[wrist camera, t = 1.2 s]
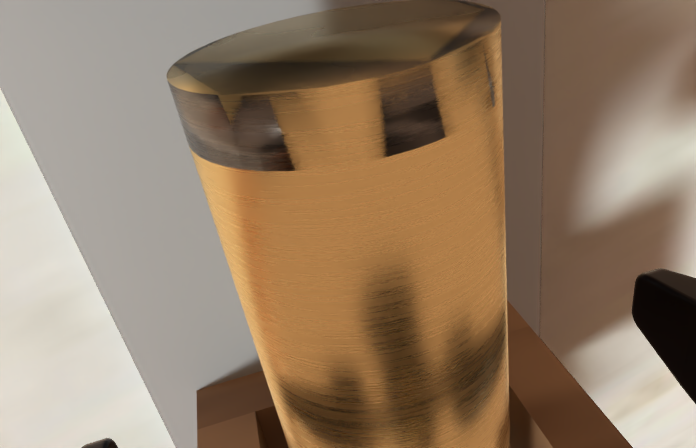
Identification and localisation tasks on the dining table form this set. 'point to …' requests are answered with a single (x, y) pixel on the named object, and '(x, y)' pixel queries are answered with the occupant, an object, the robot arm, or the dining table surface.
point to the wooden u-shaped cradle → (524, 404)
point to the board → (182, 177)
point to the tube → (363, 216)
